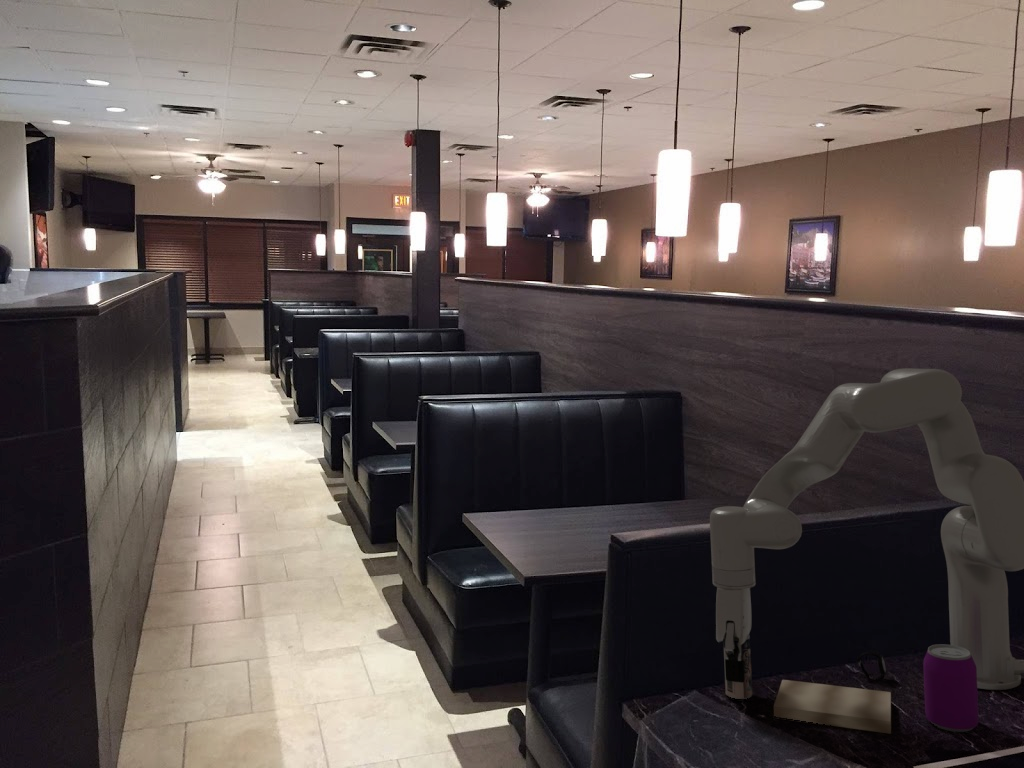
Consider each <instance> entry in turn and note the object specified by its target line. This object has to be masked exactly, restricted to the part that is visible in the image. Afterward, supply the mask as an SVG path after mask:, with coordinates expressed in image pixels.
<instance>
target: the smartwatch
mask: <svg viewBox="0 0 1024 768" xmlns="http://www.w3.org/2000/svg"><path fill="white" fill-rule="evenodd" d="M867 655H871V656H872V655H873V656H875V657H876V663H877V666H878V670H879V673H880V675H877V676H878V679H879V680H882V679H883V678H884V677H885V676H886V674H888V673H887V672H888V671H887V664H886V661H885V658H884V656H883V655H882V654H881V653H880V652H879V651H877V650H866V651H864V652H863V653H861V654H860V655H858V658H857V664H858V666H859V667H860V668H861V670H862V673H863V674H864V676H866V678H867V679H869V675H871V674H869V673H868V671H867V670H866V669H865V666H864V664H863V662H862V657H864V656H867Z"/></svg>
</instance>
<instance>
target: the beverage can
mask: <svg viewBox="0 0 1024 768" xmlns="http://www.w3.org/2000/svg"><path fill="white" fill-rule="evenodd" d="M922 664H923V667H922V668H923V687H924V688H923V689H924V691H923V692H924V710H925V711H924V713H925V717H926V719H927V720H928V721H929V722H930V724H932V725H933V724H934V725H933V726H935V727H936V726H937V727H936V728H938V727H939V729H940V728H941V730H943V729H944V731H947V732H948V731H949V732H954V733H964V732H965V733H966V732H967V733H968V732H969V731H972V730H973V729H975V728H976V727H977V726H978V725H979V700H978V698H979V697H978V688H977V667H976V665H975V662H974V660H973V658H972V656H971V653H970V651H969V650H967V649H965V648H962V647H959V646H954V645H951V644H943V643H942V644H941V643H940V644H932V645H930V646H928V648H927V651H926V653H925V656H924V658H923V661H922Z"/></svg>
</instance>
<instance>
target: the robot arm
mask: <svg viewBox="0 0 1024 768" xmlns="http://www.w3.org/2000/svg"><path fill="white" fill-rule="evenodd" d="M962 395H963V390H962V387H961V383H960V382H959V380H958V379H957V378H956V377H955V375H953V374H952V373H951V372H948V371H947V370H943V369H939V368H914V367H913V368H911V367H910V368H909V367H907V368H905V367H904V368H897V369H893V370H891V371H889V372H887V373H886V374H884V375H883V377H881V380H880V382H875V383H865V382H863V383H860V382H848V383H843V384H839V385H838V386H837V387H835V388H834V389H832V391H831V392H830V393H829V395H828V396H827V398H826V399H825V400H824V402H823V404H822V405H821V406H820V408H819V410H818V411H817V412H816V413H815V416H814V417H813V418H812V420H811V421H810V424H809V425H808V426H807V428H806V430H805V431H804V432H803V434H802V436H800V438H799V439H798V441H797V443H796V444H794V445H795V446H793V448H791V450H789V451H788V452H787V453H786V454H785V455H783V456H782V457H781V459H779V460H778V461H777V462H776V463H775V464H774V465H773V466H772V467H771V468H770V469H768V470H767V472H765V474H763V476H762V477H761V479H760V480H758V482H757V484H756V485H755V487H754V488H753V490H752V491H751V493H750V494H749V496H748V497H747V499H746V500H745V503H744V504H743V506H732V505H731V506H730V505H729V506H726V505H725V506H719V507H716V508H715V507H714V509H712V510H711V512H710V513H709V533H710V534H709V535H710V551H711V553H710V555H711V556H710V557H711V574H712V575H711V576H712V579H711V580H712V585H713V586H714V587H716V597H715V598H716V600H715V601H716V602H715V625H716V626H715V640H716V641H717V642H718V643H721V642H723V639H724V637H725V665H724V671H725V670H726V680H727V681H733V682H741V683H743V682H744V680H745V676H744V660H743V659H742V644H743V643H744V642H745V641H746V639H747V636H748V634H749V635H750V632H751V630H752V602H751V601H752V600H751V589H752V588H754V587H755V586H756V584H757V583H756V566H755V565H756V563H755V548H758V549H769V550H784V549H789V548H791V547H793V546H794V545H796V543H798V542H799V540H800V539H801V537H802V533H803V526H802V522H801V520H800V518H799V517H798V516H797V515H796V513H794V512H793V511H791V510H790V509H788V508H789V506H790V505H791V504H792V502H793V500H795V499H796V498H797V497H798V495H799V494H801V493H802V492H803V491H804V490H805V489H807V488H808V487H810V486H811V485H814V484H816V483H819V482H821V481H824V480H827V479H829V478H830V477H832V476H835V474H837V473H838V472H839V471H840V469H841V468H842V467H843V465H844V463H845V462H846V460H847V459H848V456H849V455H850V454H851V452H852V451H853V450H854V448H855V446H856V445H857V443H858V441H860V439H861V437H862V436H863V435H864V433H865V432H867V433H871V434H872V433H884V432H890V431H894V430H899V429H903V428H908V427H911V426H916V425H917V426H918V427H919V430H920V431H921V432H922V434H923V437H924V441H925V443H926V447H927V451H928V455H929V459H930V464H931V467H932V471H933V472H932V473H933V476H934V480H935V483H936V486H937V487H936V488H937V489H938V490H939V492H940V494H941V495H943V496H944V497H945V498H947V499H949V500H951V501H954V502H957V503H960V504H964V505H962V506H958V507H955V508H953V509H952V510H950V511H949V512H948V513H947V514H946V515H945V517H944V518H943V519H942V522H941V527H940V539H941V545H942V549H943V553H944V557H945V561H946V562H945V563H946V568H947V569H946V571H947V582H948V583H947V584H948V585H947V586H948V590H947V591H948V611H949V614H948V616H949V641H950V644H949V645H954V646H959V647H962V648H965V649H967V650H969V651H970V653H971V656H972V658H973V660H974V662H975V665H976V667H977V689H978V690H979V689H980V690H990V691H1001V690H1004V691H1005V690H1010V689H1014V688H1017V687H1019V686H1020V685H1021V683H1022V676H1021V674H1024V659H1016V657H1013V655H1012V652H1011V648H1010V624H1009V623H1010V621H1009V619H1010V618H1009V588H1008V579H1007V575H1006V572H1017V571H1021V570H1024V479H1023V476H1022V474H1021V473H1020V472H1019V470H1018V468H1017V467H1016V466H1015V465H1014V464H1012V463H1011V462H1010V461H1008V460H1007V459H1005V458H1003V457H999V456H998V455H992V454H986V453H985V452H984V449H983V447H982V445H981V441H980V438H979V435H978V432H977V428H976V426H975V422H974V420H973V417H972V415H971V414H970V412H969V410H968V408H967V407H966V405H965V404H964V402H963V401H961V400H962V398H963V397H962ZM1005 571H1006V572H1005ZM734 639H739V641H738V642H734ZM734 646H738V650H737V649H736V648H735V647H734Z"/></svg>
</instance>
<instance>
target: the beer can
mask: <svg viewBox="0 0 1024 768" xmlns="http://www.w3.org/2000/svg"><path fill="white" fill-rule="evenodd" d="M738 641H739V639H734V642H738ZM722 642H723V659H724V660H723V661H724V663H723V664H724V666H725V637H724V639H723V641H722ZM734 647H735V648H736V649H737V650H738V646H734ZM742 659H743V660H744V676H745V680H744V682H743V683H741V682H733V681H727V680H726V670H725V669H724V685H725V693H724V694H725V695H726V696H728V697H729V698H730V697H731V698H730V699H732V698H735V699H746V700H748V699H749V698H752V696H753V680H752V660H751V659H752V658H751V636H750V633H749V634H748V636H747V639H746V641H745V642H744V643H743V644H742ZM747 698H748V699H747Z"/></svg>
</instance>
